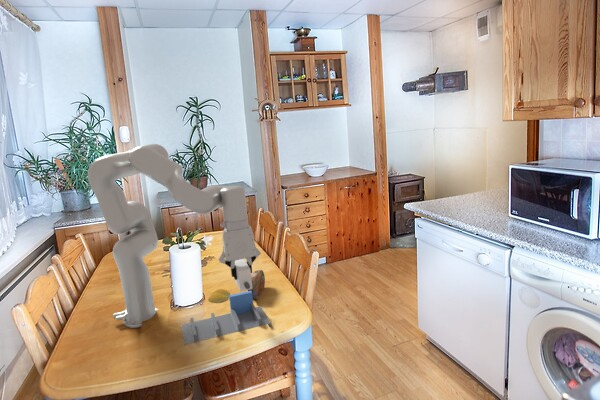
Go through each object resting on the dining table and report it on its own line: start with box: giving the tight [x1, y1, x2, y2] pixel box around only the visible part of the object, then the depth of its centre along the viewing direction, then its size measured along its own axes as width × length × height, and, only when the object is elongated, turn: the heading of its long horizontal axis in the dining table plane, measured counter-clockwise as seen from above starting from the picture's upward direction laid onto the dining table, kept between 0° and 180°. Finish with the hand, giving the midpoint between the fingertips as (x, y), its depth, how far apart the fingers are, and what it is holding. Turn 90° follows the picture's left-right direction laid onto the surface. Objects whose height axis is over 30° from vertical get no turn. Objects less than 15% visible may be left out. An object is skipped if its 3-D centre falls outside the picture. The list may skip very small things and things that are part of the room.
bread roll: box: [207, 288, 231, 304], centre depth 152 cm, size 8×9×4 cm
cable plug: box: [233, 259, 252, 292], centre depth 129 cm, size 4×14×7 cm, turn 20°
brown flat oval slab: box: [247, 269, 266, 300], centre depth 156 cm, size 15×3×8 cm, turn 168°
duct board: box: [181, 290, 272, 346], centre depth 132 cm, size 28×13×8 cm, turn 110°
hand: (242, 276), depth 130 cm, fingers closed on cable plug, 4 cm apart
